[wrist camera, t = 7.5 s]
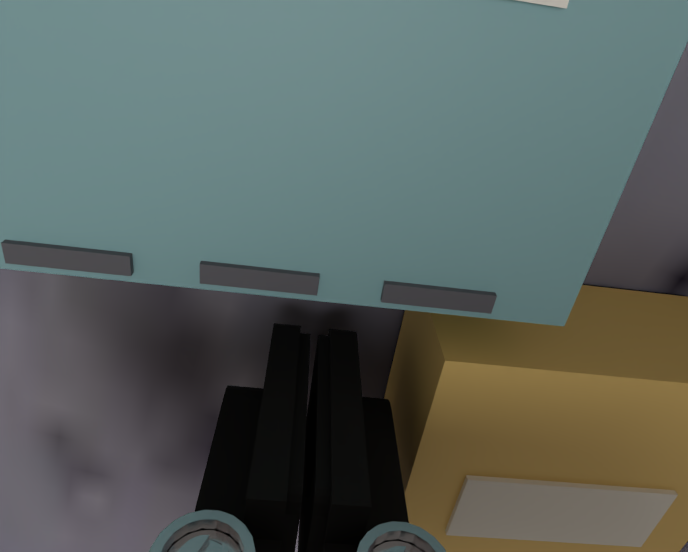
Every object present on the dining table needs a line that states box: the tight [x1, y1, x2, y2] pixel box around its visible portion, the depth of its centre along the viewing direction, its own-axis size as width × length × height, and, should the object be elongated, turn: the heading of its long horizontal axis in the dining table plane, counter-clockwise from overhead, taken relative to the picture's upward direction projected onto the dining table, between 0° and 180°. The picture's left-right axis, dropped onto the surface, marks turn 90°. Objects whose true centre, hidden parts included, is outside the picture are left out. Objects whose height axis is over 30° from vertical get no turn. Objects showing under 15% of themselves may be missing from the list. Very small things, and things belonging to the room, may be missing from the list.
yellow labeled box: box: [384, 285, 688, 552], centre depth 10 cm, size 6×5×3 cm
